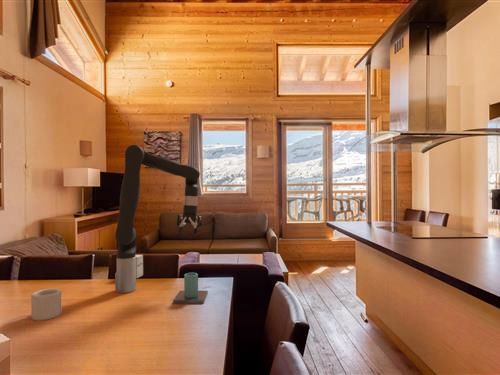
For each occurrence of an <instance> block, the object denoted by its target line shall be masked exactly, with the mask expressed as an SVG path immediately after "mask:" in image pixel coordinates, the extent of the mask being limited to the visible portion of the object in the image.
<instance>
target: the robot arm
mask: <svg viewBox="0 0 500 375" xmlns="http://www.w3.org/2000/svg"><path fill="white" fill-rule="evenodd" d="M142 165H145V166H148V167H152V168H154V169H158V170H160V171H162V172H164V173H168V174H170V175H174V176H176V177H182V178H185V179H184V181H185V186H184V197H183V206H182V207H183V208H182V214H177V220H176V226H178V227H179V234H180V235H184V232H185V230H184V229H185V227H184V226H185V225H186V224H189V225H192V227H193V236H194V237H195V236H198V233H199V228H202V227H203V225H202V224H203V221H202V220H203V216H202V215H201V216H200V215H199V216H198V215H197V214H198V204H199V203H198V202H199V200H198V198H199V197H198V196H199V194H198V193H199V188H198V184H199V178H200V175H201V173H200V171H199V169H198V168H196V167H195V166H190V165H187V164H182V163H181V162H179V161H178V162H177V161H176V160H175V161H174V160H172V159H168V158H164V157H161V156H157V155H154V154H152V153H150V152H147V151H146V150H143V148H142V147H141V146H140V145H137V144H130V145H129V146H127V148H126V149H125V151H124V172H123V173H124V174H123V177H122V181H121V183H122V184H121V186H120V187H121V188H120V195H119V209H118V210H119V212H118V220H117V225H116V229H115V234H114V238H115V241H116V243H117V250H116V272H115V273H114V274H115V275H114V276H115V277H114V278H115V279H114V282H115V283H114V285H115V286H114V290H115V291H114V292H115V293H120V294H125V293H132V292H134V291H136V288H137V283H136V282H137V281H136V280H137V279H136V255H137V254H136V253H137V232H136V229H135V228H134V221H135V216H136V212H137V209H138V205H139V201H140V195H141V178H140V177H141V175H140V173H141V167H142Z"/></svg>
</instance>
